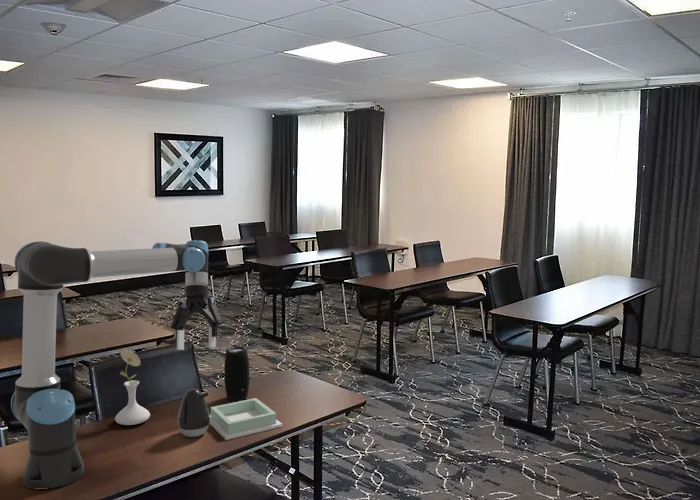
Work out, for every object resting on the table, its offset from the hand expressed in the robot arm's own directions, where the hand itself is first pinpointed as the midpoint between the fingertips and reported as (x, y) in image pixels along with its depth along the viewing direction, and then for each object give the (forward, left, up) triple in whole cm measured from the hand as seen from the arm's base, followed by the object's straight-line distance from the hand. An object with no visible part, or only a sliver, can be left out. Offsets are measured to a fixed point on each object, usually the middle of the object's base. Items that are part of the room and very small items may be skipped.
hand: (196, 348), depth 195 cm
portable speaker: (+21, +17, -27) cm, 38 cm away
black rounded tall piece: (-3, -6, -27) cm, 28 cm away
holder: (+14, -6, -27) cm, 31 cm away
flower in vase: (-18, +16, -27) cm, 36 cm away
